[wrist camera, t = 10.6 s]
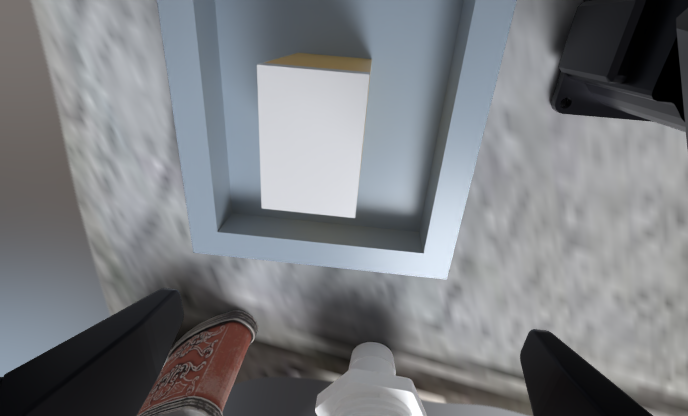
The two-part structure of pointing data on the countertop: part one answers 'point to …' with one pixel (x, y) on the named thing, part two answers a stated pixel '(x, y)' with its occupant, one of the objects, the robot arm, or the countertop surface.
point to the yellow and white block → (312, 132)
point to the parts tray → (380, 127)
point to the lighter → (202, 368)
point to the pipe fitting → (370, 387)
